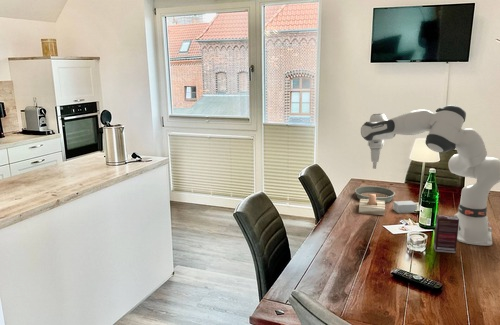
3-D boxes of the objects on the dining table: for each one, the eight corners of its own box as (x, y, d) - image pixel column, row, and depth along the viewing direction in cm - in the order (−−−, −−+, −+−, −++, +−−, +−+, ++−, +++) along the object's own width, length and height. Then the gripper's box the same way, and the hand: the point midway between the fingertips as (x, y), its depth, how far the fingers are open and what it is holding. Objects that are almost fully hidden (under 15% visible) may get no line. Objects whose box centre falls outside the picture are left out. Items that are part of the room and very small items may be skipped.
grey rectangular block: (397, 213, 222) (398, 205, 221) (392, 209, 228) (393, 201, 227) (416, 212, 223) (417, 204, 222) (410, 208, 229) (411, 200, 228)
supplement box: (453, 248, 177) (457, 215, 174) (455, 253, 173) (459, 219, 169) (432, 246, 179) (436, 214, 176) (434, 251, 175) (438, 218, 171)
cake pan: (358, 190, 265) (358, 184, 264) (396, 195, 255) (397, 188, 254) (350, 201, 244) (350, 194, 243) (392, 206, 233) (392, 199, 232)
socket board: (384, 215, 219) (385, 208, 218) (358, 212, 223) (359, 206, 222) (384, 207, 232) (384, 200, 231) (359, 205, 236) (360, 198, 235)
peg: (375, 211, 225) (376, 196, 223) (368, 210, 226) (369, 195, 224) (375, 208, 229) (376, 194, 227) (368, 208, 230) (369, 193, 228)
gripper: (370, 139, 229) (369, 162, 232) (369, 145, 210) (368, 170, 213) (381, 139, 227) (380, 162, 230) (382, 146, 208) (380, 171, 211)
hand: (374, 166), depth 222 cm, fingers open, 8 cm apart
